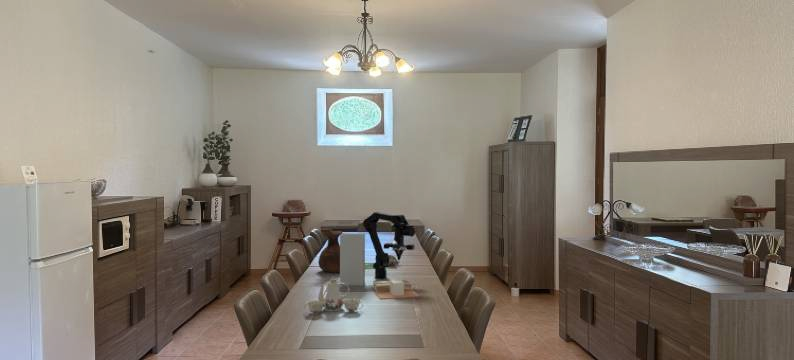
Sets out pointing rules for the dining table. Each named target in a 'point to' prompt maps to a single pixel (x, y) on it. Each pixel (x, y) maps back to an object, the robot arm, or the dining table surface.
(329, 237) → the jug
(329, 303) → the chinaware
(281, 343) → the dining table surface
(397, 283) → the block
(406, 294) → the mat
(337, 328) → the dining table surface
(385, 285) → the board
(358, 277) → the tall white box
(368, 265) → the decorative card
